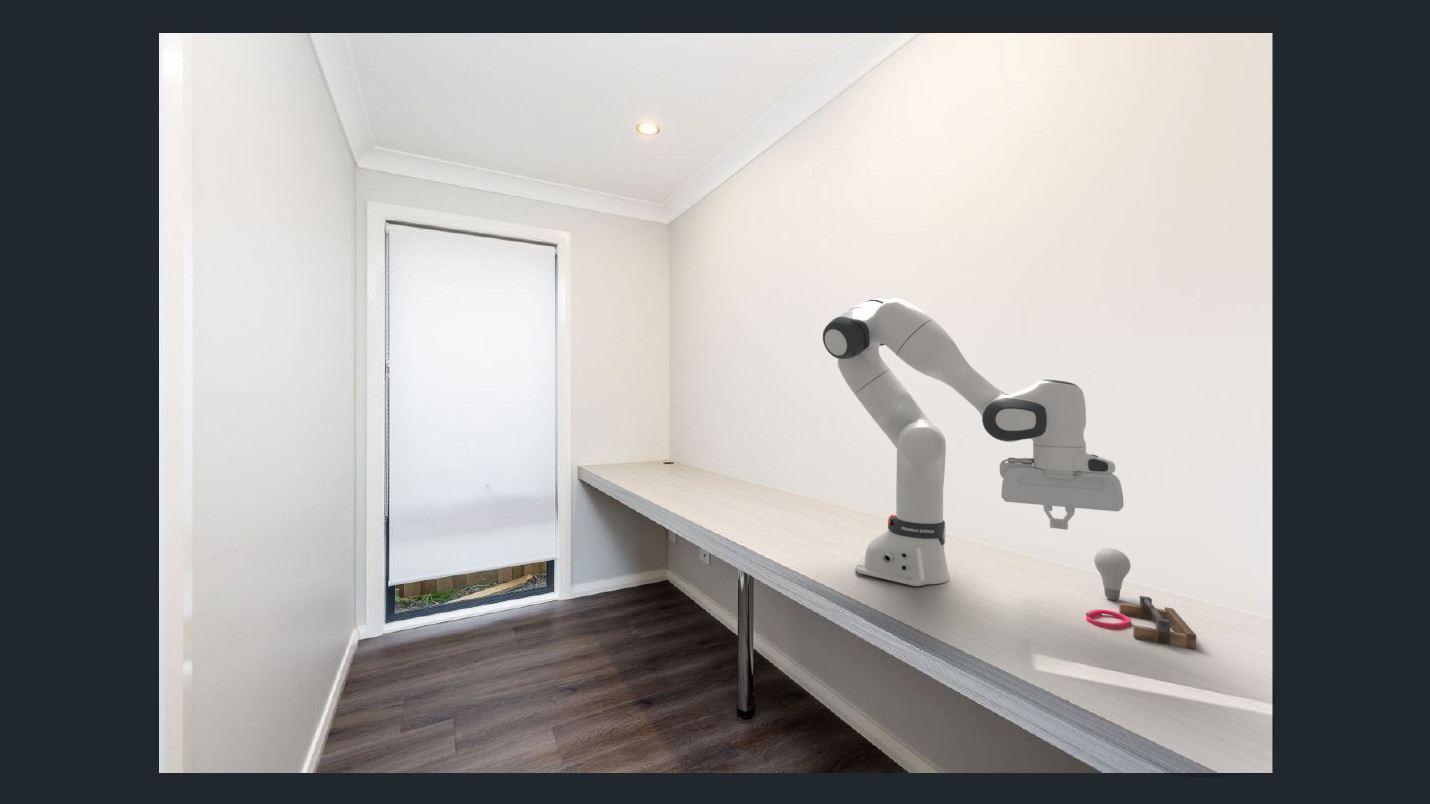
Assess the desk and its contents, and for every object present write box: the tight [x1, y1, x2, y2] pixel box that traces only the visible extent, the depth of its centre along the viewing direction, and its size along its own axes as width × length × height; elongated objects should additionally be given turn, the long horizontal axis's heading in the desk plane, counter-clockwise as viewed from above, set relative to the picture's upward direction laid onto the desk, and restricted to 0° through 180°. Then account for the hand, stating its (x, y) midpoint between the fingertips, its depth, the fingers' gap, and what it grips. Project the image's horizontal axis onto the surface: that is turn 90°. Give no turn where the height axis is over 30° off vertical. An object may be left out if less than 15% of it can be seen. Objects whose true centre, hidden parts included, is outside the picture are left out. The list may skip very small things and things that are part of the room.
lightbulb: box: [1093, 547, 1131, 601], centre depth 108 cm, size 6×6×11 cm
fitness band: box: [1085, 609, 1132, 631], centre depth 97 cm, size 8×6×2 cm
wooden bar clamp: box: [1118, 595, 1197, 651], centre depth 93 cm, size 8×13×4 cm, turn 151°
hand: (1058, 528), depth 101 cm, fingers closed
